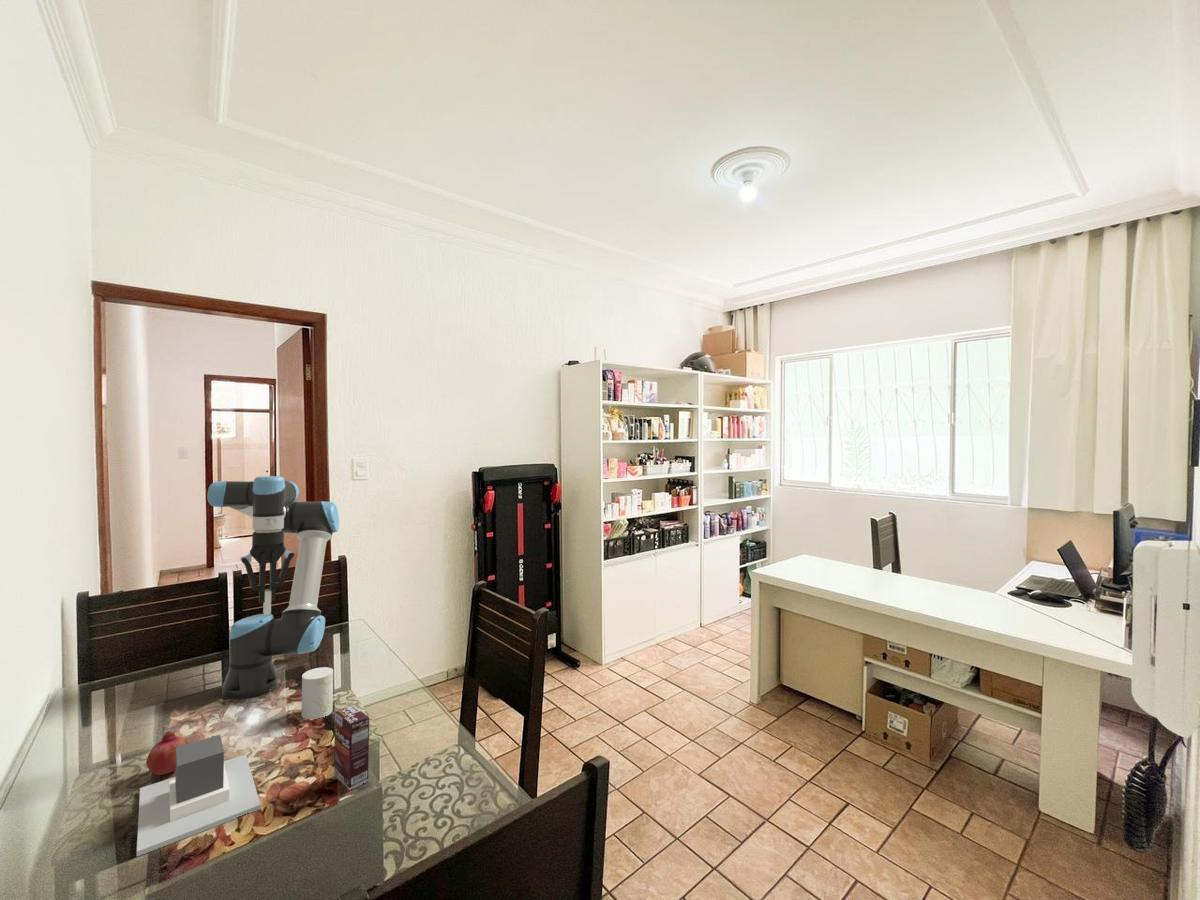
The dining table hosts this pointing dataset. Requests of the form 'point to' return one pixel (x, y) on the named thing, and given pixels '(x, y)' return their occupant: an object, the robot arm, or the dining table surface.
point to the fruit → (165, 754)
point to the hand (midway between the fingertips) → (267, 613)
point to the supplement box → (351, 747)
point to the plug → (199, 768)
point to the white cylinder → (317, 693)
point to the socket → (193, 807)
